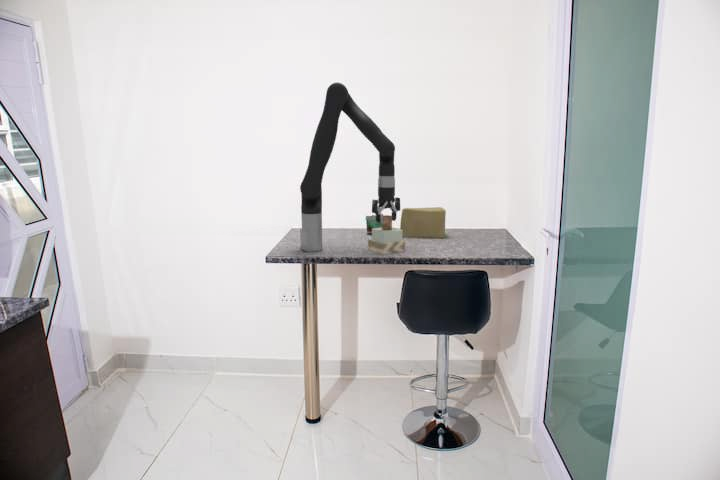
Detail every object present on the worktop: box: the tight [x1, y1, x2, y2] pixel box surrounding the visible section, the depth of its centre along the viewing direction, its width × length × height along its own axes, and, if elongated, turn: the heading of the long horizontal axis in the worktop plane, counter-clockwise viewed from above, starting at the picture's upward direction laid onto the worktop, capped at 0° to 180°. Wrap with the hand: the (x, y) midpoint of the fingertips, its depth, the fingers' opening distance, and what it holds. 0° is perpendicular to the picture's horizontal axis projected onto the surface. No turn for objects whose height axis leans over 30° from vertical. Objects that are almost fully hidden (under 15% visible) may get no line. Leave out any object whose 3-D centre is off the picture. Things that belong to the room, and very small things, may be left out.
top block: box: [371, 226, 403, 244], centre depth 231 cm, size 10×10×5 cm
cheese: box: [399, 206, 447, 239], centre depth 258 cm, size 22×10×15 cm, turn 94°
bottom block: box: [367, 238, 406, 256], centre depth 232 cm, size 12×12×5 cm
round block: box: [382, 214, 393, 230], centre depth 230 cm, size 5×5×6 cm
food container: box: [365, 212, 384, 235], centre depth 267 cm, size 12×6×10 cm, turn 143°
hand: (386, 221), depth 230 cm, fingers open, 8 cm apart
